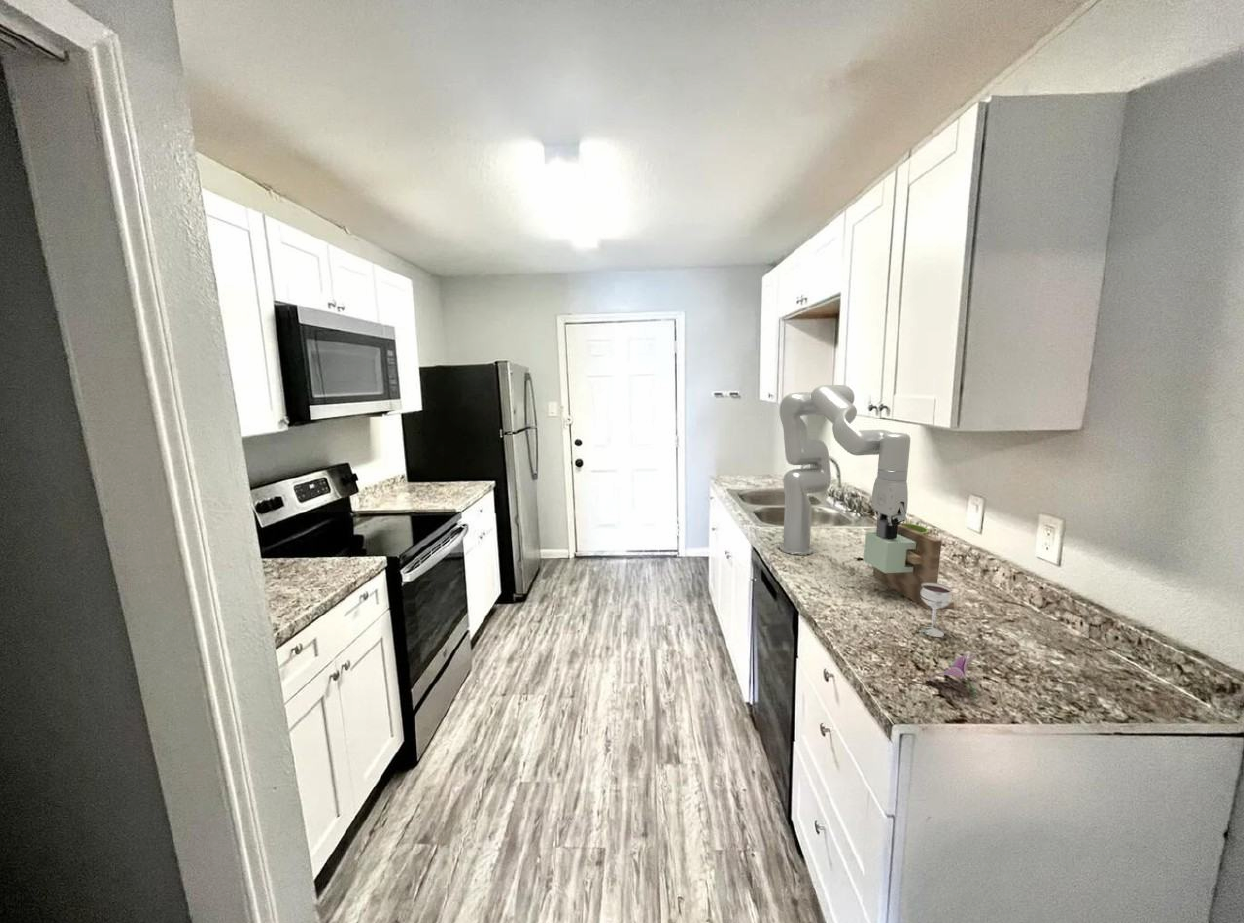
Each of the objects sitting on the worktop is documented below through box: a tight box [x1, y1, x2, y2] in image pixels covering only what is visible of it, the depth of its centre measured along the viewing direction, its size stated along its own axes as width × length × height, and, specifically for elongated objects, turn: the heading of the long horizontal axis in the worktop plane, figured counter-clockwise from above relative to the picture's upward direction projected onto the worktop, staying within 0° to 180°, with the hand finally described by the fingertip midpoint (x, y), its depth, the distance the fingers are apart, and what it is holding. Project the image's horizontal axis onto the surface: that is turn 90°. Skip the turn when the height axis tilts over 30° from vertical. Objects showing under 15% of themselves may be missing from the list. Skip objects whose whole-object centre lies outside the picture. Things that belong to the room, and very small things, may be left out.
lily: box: [925, 650, 984, 699], centre depth 96 cm, size 12×12×10 cm
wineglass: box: [920, 582, 953, 638], centre depth 118 cm, size 7×7×12 cm
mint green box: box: [863, 520, 916, 573], centre depth 139 cm, size 10×9×14 cm
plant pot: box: [900, 522, 929, 535], centre depth 170 cm, size 12×12×11 cm
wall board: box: [872, 521, 955, 610], centre depth 142 cm, size 24×10×20 cm, turn 7°
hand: (886, 535), depth 138 cm, fingers closed on mint green box, 3 cm apart
